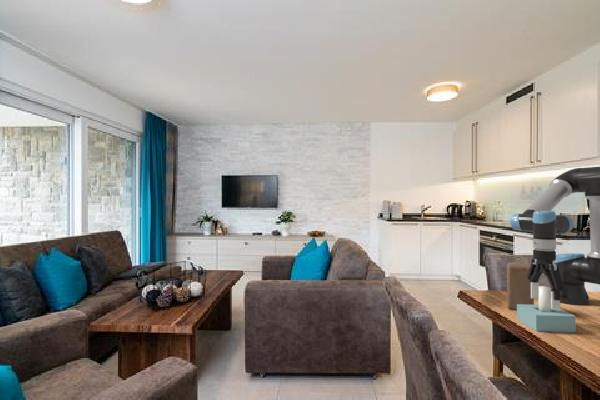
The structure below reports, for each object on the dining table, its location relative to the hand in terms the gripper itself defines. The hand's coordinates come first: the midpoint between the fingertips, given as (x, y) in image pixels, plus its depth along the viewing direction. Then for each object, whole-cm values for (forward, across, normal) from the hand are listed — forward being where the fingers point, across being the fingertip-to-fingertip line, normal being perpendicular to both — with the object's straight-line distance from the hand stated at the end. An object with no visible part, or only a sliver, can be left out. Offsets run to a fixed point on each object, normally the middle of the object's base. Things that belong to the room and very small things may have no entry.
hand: (544, 303), depth 140 cm
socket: (+9, 0, 0) cm, 9 cm away
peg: (+8, 0, 0) cm, 8 cm away
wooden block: (+9, -22, +2) cm, 24 cm away
